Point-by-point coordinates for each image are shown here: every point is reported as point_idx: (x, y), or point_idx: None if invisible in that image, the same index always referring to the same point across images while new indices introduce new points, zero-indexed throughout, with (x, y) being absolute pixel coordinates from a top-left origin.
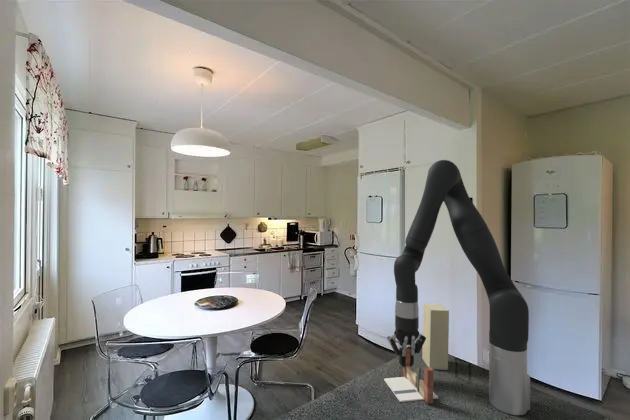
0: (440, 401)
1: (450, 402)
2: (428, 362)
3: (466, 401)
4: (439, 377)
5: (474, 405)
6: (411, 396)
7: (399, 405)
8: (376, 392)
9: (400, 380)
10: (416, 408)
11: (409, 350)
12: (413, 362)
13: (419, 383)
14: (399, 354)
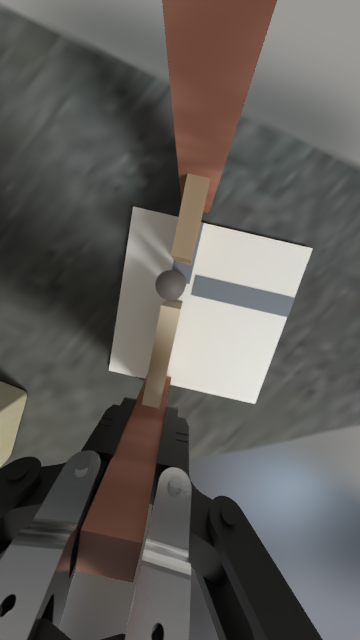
0: (140, 186)
1: (103, 161)
2: (5, 417)
3: (27, 139)
4: (26, 332)
5: (11, 96)
6: (243, 256)
7: (329, 231)
8: (345, 343)
9: (201, 369)
10: (278, 183)
11: (99, 516)
12: (106, 412)
13: (191, 261)
14: (216, 499)
